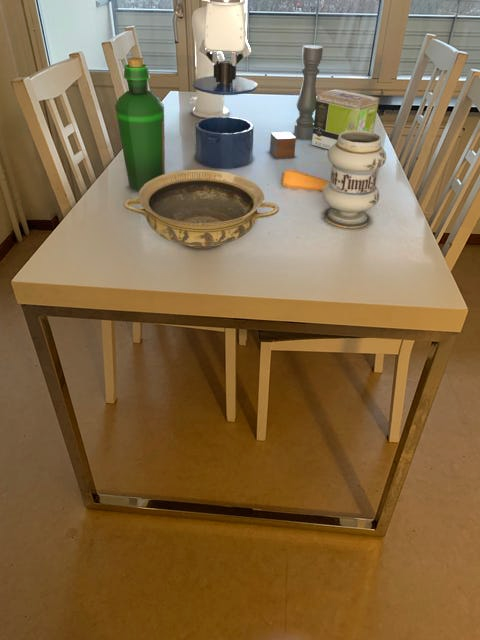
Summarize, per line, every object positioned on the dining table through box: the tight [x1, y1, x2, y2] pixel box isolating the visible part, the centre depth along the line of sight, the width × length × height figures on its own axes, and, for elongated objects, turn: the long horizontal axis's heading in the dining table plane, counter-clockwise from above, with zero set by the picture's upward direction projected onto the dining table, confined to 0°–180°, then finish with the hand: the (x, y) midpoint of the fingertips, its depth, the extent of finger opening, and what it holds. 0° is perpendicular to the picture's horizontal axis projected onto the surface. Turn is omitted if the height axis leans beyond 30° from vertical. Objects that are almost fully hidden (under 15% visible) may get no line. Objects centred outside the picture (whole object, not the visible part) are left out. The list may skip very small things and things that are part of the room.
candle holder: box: [293, 44, 324, 140], centre depth 145 cm, size 6×6×25 cm
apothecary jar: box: [322, 130, 387, 229], centre depth 102 cm, size 12×12×18 cm
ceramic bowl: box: [123, 169, 280, 249], centre depth 95 cm, size 30×24×10 cm
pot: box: [194, 116, 255, 169], centre depth 133 cm, size 16×21×9 cm
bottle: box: [114, 56, 166, 193], centre depth 110 cm, size 11×11×28 cm
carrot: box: [280, 168, 330, 192], centre depth 119 cm, size 20×4×4 cm, turn 80°
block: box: [269, 131, 297, 160], centre depth 137 cm, size 6×6×6 cm
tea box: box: [311, 88, 380, 150], centre depth 140 cm, size 15×10×15 cm, turn 47°
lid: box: [192, 60, 258, 96], centre depth 123 cm, size 17×17×6 cm
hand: (224, 80), depth 124 cm, fingers closed on lid, 2 cm apart
